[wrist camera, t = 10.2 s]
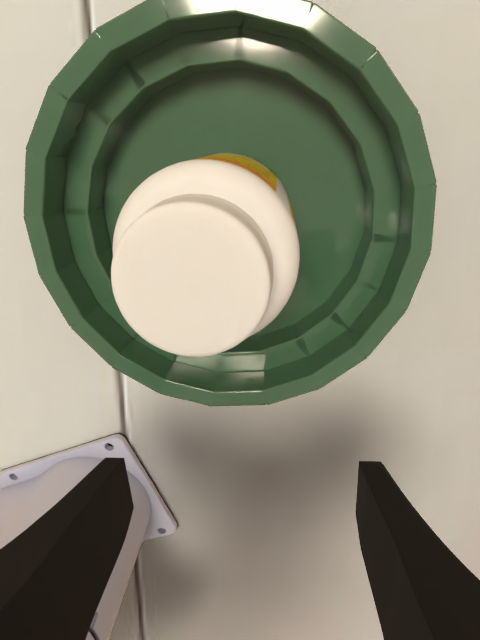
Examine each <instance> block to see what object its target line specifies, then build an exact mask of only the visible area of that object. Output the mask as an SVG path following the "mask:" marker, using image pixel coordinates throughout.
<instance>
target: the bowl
mask: <svg viewBox="0 0 480 640" xmlns="http://www.w3.org/2000/svg"><path fill="white" fill-rule="evenodd" d="M26 150H27V151H26V162H25V191H24V220H25V224H26V227H27V231H28V235H29V239H30V243H31V246H32V250H33V254H34V258H35V261H36V265H37V269H38V273H39V275H40V277H41V279H42V281H43V282H44V284H45V286H46V287H47V289H48V291H49V292H50V294H51V296H52V298H53V299H54V301H55V303H56V304H57V306H58V308H59V309H60V311H61V313H62V314H63V316H64V318H65V319H66V321H67V323H68V324H69V326H71V328H72V329H73V330H74V331H75V332H76V333H77V334H78V335H79V336H80V337H81V338H82V339H83V340H84V341H85V342H86V343H87V344H88V345H89V346H90V347H91V348H92V349H94V350H95V351H96V352H97V353H98V354H99V355H100V356H101V357H102V358H103V359H104V360H105V361H106V362H107V363H108V364H109V365H110V366H112V367H113V368H114V369H116V370H118V371H120V372H122V373H123V374H125V375H127V376H129V377H131V378H132V379H134V380H136V381H138V382H140V383H142V384H143V385H145V386H147V387H149V388H151V389H152V390H154V391H156V392H158V393H160V394H163V395H167V396H171V397H175V398H179V399H184V400H188V401H192V402H196V403H200V404H204V405H208V406H241V405H266V404H267V405H269V404H272V403H275V402H279V401H282V400H285V399H288V398H292V397H295V396H298V395H301V394H305V393H308V392H311V391H314V390H317V389H319V388H322V387H323V386H325V385H326V384H328V383H330V382H331V381H333V380H334V379H336V378H337V377H339V376H340V375H342V374H343V373H345V372H346V371H348V370H349V369H351V368H352V367H354V366H355V365H357V364H358V363H360V362H361V361H363V360H364V359H366V358H367V356H369V355H370V354H371V353H372V351H373V350H374V349H375V348H376V347H377V345H378V344H379V343H380V342H381V341H382V339H383V338H384V337H385V336H386V335H387V333H388V332H389V331H390V330H391V329H392V327H393V326H394V325H395V324H396V323H397V322H398V320H399V319H400V318H401V317H402V316H403V314H404V313H405V310H407V308H408V306H409V304H410V301H411V299H412V296H413V294H414V292H415V289H416V287H417V284H418V282H419V280H420V277H421V275H422V272H423V270H424V268H425V265H426V263H427V261H428V258H429V256H430V251H431V247H432V235H433V223H434V211H435V199H436V187H437V185H436V184H435V183H436V178H435V174H434V170H433V166H432V162H431V158H430V154H429V149H428V145H427V141H426V137H425V133H424V129H423V125H422V121H421V117H420V114H419V113H418V110H417V108H416V107H415V105H414V104H413V102H412V101H411V99H410V98H409V96H408V95H407V93H406V91H405V90H404V88H403V87H402V85H401V84H400V82H399V81H398V79H397V78H396V76H395V75H394V73H393V72H392V70H391V69H390V67H389V66H388V64H387V63H386V61H385V60H384V58H383V57H382V55H381V54H380V52H379V51H378V50H376V47H375V46H373V45H372V44H371V43H369V42H368V41H366V40H365V39H364V38H362V37H361V36H360V35H358V34H357V33H355V32H354V31H353V30H351V29H350V28H349V27H347V26H346V25H344V24H343V23H342V22H340V21H339V20H338V19H336V18H335V17H334V16H332V15H331V14H329V13H328V12H327V11H325V10H324V9H323V8H321V7H320V6H318V5H317V4H316V3H314V4H313V2H311V1H308V0H146V1H144V2H142V3H141V4H139V5H137V6H135V7H133V8H132V9H130V10H128V11H126V12H124V13H123V14H121V15H119V16H117V17H116V18H114V19H112V20H110V21H108V22H107V23H105V24H103V25H101V26H100V27H98V28H96V30H94V32H93V33H92V34H91V35H90V36H89V38H88V39H87V40H86V41H85V42H84V44H83V45H82V46H81V47H80V48H79V50H78V51H77V52H76V53H75V54H74V56H73V57H72V58H71V59H70V60H69V62H68V63H67V64H66V65H65V66H64V68H63V69H62V70H61V71H60V72H59V74H58V75H57V76H56V77H55V78H54V80H53V81H52V82H51V83H50V85H49V86H48V89H47V92H46V95H45V97H44V100H43V103H42V105H41V108H40V111H39V114H38V116H37V119H36V122H35V125H34V127H33V130H32V133H31V136H30V138H29V141H28V144H27V146H26ZM219 153H236V154H242V155H245V156H248V157H251V158H253V159H255V160H257V161H259V162H261V163H262V164H264V165H265V166H267V167H268V168H269V169H270V170H271V171H272V172H273V173H274V174H275V175H276V176H277V177H278V179H279V180H280V181H281V183H282V185H283V186H284V188H285V190H286V192H287V195H288V197H289V201H290V204H291V208H292V211H293V216H294V220H295V225H296V229H297V234H298V239H299V248H300V262H299V270H298V276H297V280H296V284H295V286H294V289H293V291H292V294H291V296H290V298H289V300H288V301H287V303H286V305H285V306H284V308H283V309H282V310H281V312H280V313H279V314H278V316H277V317H276V318H275V319H274V320H273V321H272V322H271V323H269V324H268V325H267V326H266V327H265V328H263V329H262V330H260V331H258V332H257V333H255V334H253V335H251V336H249V337H247V338H246V339H245V340H243V341H242V342H241V343H239V344H238V345H236V346H235V347H233V348H231V349H229V350H227V351H224V352H221V353H218V354H215V355H210V356H201V357H191V356H182V355H176V354H173V353H170V352H167V351H164V350H162V349H160V348H158V347H156V346H154V345H152V344H150V343H149V342H147V341H146V340H145V339H143V338H142V337H141V336H140V335H139V334H138V333H136V332H135V331H134V329H133V328H132V327H131V326H130V325H129V324H128V323H127V321H126V320H125V318H124V317H123V315H122V313H121V311H120V309H119V307H118V305H117V303H116V301H115V297H114V294H113V290H112V283H111V265H112V259H113V236H114V231H115V226H116V223H117V220H118V217H119V214H120V212H121V210H122V208H123V206H124V204H125V203H126V201H127V199H128V198H129V196H130V195H131V194H132V192H133V191H134V190H135V189H136V188H137V187H138V186H139V185H140V184H141V183H142V182H143V181H144V180H146V179H147V178H148V177H150V176H151V175H153V174H154V173H156V172H158V171H160V170H162V169H163V168H165V167H168V166H170V165H173V164H176V163H179V162H183V161H187V160H192V159H197V158H201V157H205V156H210V155H214V154H219Z"/></svg>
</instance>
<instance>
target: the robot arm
mask: <svg viewBox="0 0 480 640" xmlns="http://www.w3.org/2000/svg"><path fill="white" fill-rule="evenodd" d="M107 443H109V444H112V445H113V446H109V445H108V444H107ZM356 518H357V525H358V532H359V539H360V545H361V551H362V555H363V559H364V562H365V566H366V570H367V574H368V578H369V582H370V586H371V590H372V593H373V597H374V601H375V605H376V609H377V613H378V616H379V620H380V624H381V628H382V632H383V637H384V640H480V580H479V579H478V578H477V577H476V576H475V575H474V574H473V573H472V572H471V571H470V570H469V569H468V568H467V567H466V566H465V565H464V564H463V563H462V562H461V561H460V560H459V559H458V558H457V557H456V556H455V555H454V554H453V553H452V552H451V551H450V550H449V549H448V548H447V546H446V545H445V544H444V543H443V542H442V541H441V540H440V538H439V537H438V536H437V535H436V534H435V533H434V532H433V530H432V529H431V528H430V527H429V526H428V524H427V523H426V522H425V521H424V520H423V518H422V517H421V516H420V515H419V513H418V512H417V511H416V510H415V508H414V507H413V506H412V504H411V503H410V502H409V500H408V499H407V498H406V496H405V495H404V494H403V492H402V491H401V490H400V488H399V487H398V485H397V484H396V483H395V481H394V480H393V478H392V477H391V475H390V474H389V472H388V471H387V469H386V468H385V466H384V465H383V464H382V463H381V462H375V461H359V470H358V486H357V502H356ZM162 528H164V529H162ZM176 529H177V523H176V521H175V519H174V518H173V516H172V514H171V513H170V511H169V509H168V508H167V506H166V505H165V503H164V501H163V500H162V498H161V496H160V495H159V493H158V491H157V490H156V488H155V486H154V485H153V483H152V481H151V480H150V478H149V477H148V475H147V473H146V472H145V470H144V468H143V467H142V465H141V463H140V462H139V460H138V458H137V457H136V455H135V453H134V452H133V450H132V449H131V447H130V445H129V444H128V442H127V440H126V439H125V438H124V436H122V435H119V434H114V435H111V436H108V437H105V438H102V439H98V440H95V441H92V442H89V443H86V444H83V445H80V446H77V447H73V448H70V449H67V450H64V451H61V452H58V453H55V454H52V455H48V456H45V457H42V458H39V459H36V460H33V461H30V462H27V463H23V464H20V465H17V466H14V467H11V468H8V469H5V470H1V471H0V640H109V638H110V635H111V632H112V629H113V626H114V623H115V620H116V617H117V614H118V612H119V609H120V606H121V603H122V600H123V597H124V594H125V591H126V588H127V585H128V582H129V579H130V576H131V573H132V570H133V567H134V564H135V561H136V558H137V555H138V552H139V549H140V546H141V543H142V541H146V540H150V539H154V538H158V537H162V536H166V535H170V534H173V533H175V532H176Z"/></svg>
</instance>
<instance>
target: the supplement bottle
mask: <svg viewBox="0 0 480 640" xmlns="http://www.w3.org/2000/svg"><path fill="white" fill-rule="evenodd" d="M299 262H300V248H299V239H298V234H297V229H296V225H295V220H294V216H293V211H292V208H291V204H290V201H289V197H288V195H287V192H286V190H285V188H284V186H283V185H282V183H281V181H280V180H279V179H278V177H277V176H276V175H275V174H274V173H273V172H272V171H271V170H270V169H269V168H268V167H267V166H265V165H264V164H262V163H261V162H259V161H257V160H255V159H253V158H251V157H248V156H245V155H242V154H236V153H219V154H214V155H210V156H205V157H201V158H197V159H192V160H187V161H183V162H179V163H176V164H173V165H170V166H168V167H165V168H163V169H162V170H160V171H158V172H156V173H154V174H153V175H151V176H150V177H148V178H147V179H146V180H144V181H143V182H142V183H141V184H140V185H139V186H138V187H137V188H136V189H135V190H134V191H133V192H132V194H131V195H130V196H129V198H128V199H127V201H126V203H125V204H124V206H123V208H122V210H121V212H120V214H119V217H118V220H117V223H116V226H115V231H114V236H113V259H112V265H111V283H112V290H113V294H114V297H115V301H116V303H117V305H118V307H119V309H120V311H121V313H122V315H123V317H124V318H125V320H126V321H127V323H128V324H129V325H130V326H131V327H132V328H133V329H134V331H135V332H136V333H138V334H139V335H140V336H141V337H142V338H143V339H145V340H146V341H147V342H149V343H150V344H152V345H154V346H156V347H158V348H160V349H162V350H164V351H167V352H170V353H173V354H176V355H182V356H191V357H201V356H210V355H215V354H218V353H221V352H224V351H227V350H229V349H231V348H233V347H235V346H236V345H238V344H239V343H241V342H242V341H243V340H245V339H246V338H247V337H249V336H251V335H253V334H255V333H257V332H258V331H260V330H262V329H263V328H265V327H266V326H267V325H268V324H269V323H271V322H272V321H273V320H274V319H275V318H276V317H277V316H278V314H279V313H280V312H281V310H282V309H283V308H284V306H285V305H286V303H287V301H288V300H289V298H290V296H291V294H292V291H293V289H294V286H295V284H296V280H297V276H298V270H299Z"/></svg>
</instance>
